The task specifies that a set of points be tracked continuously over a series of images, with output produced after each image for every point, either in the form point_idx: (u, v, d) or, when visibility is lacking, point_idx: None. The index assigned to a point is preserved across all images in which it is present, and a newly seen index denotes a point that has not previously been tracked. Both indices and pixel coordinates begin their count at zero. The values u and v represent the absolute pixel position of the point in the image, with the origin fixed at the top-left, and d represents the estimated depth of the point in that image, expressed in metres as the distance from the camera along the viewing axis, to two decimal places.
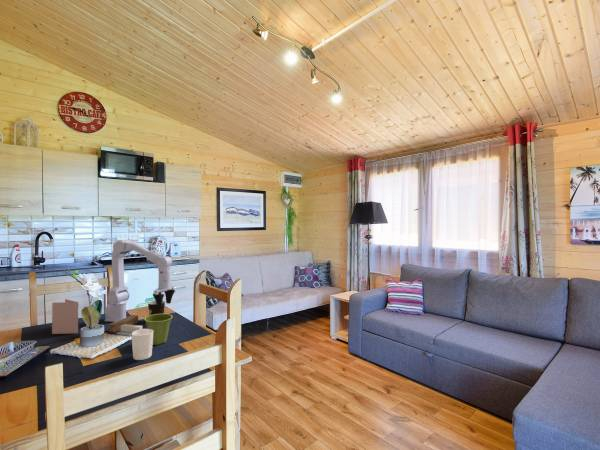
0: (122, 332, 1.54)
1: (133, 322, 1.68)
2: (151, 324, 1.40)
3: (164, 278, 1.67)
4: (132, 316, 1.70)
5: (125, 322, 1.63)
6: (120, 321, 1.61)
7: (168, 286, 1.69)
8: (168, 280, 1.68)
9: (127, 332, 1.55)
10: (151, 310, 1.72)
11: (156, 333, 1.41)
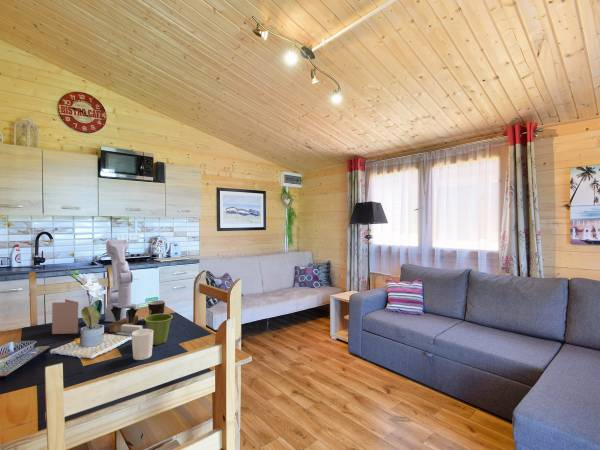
0: (122, 332, 1.54)
1: (133, 322, 1.68)
2: (150, 324, 1.40)
3: (120, 294, 1.61)
4: None
5: (125, 322, 1.63)
6: (120, 321, 1.61)
7: (119, 303, 1.61)
8: (119, 297, 1.61)
9: (127, 332, 1.55)
10: (151, 310, 1.72)
11: (156, 333, 1.41)
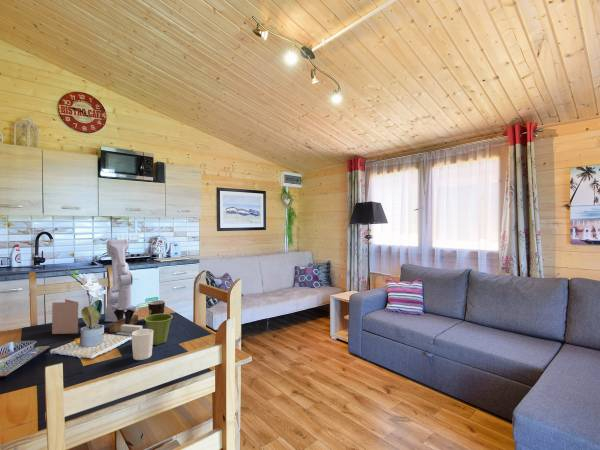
0: (122, 332, 1.54)
1: (133, 322, 1.68)
2: (150, 324, 1.40)
3: (120, 296, 1.61)
4: (132, 316, 1.70)
5: (125, 322, 1.63)
6: (120, 321, 1.61)
7: (119, 305, 1.61)
8: (119, 299, 1.61)
9: (127, 332, 1.55)
10: (151, 310, 1.72)
11: (156, 333, 1.41)
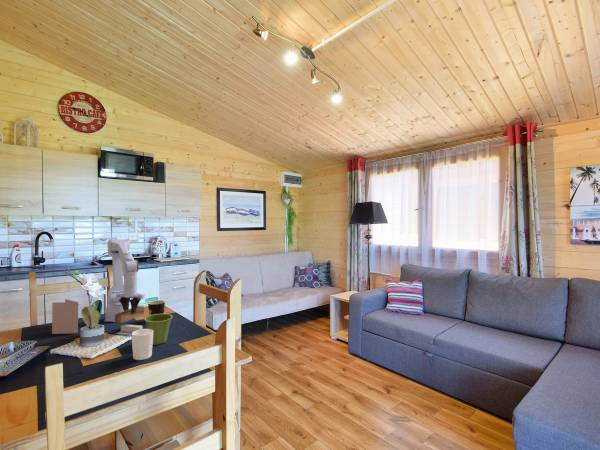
0: (122, 332, 1.54)
1: (139, 313, 1.62)
2: (150, 324, 1.40)
3: (125, 284, 1.55)
4: (138, 307, 1.64)
5: (131, 313, 1.57)
6: (126, 311, 1.56)
7: (125, 293, 1.56)
8: (125, 286, 1.56)
9: (127, 332, 1.55)
10: (151, 310, 1.72)
11: (156, 333, 1.41)
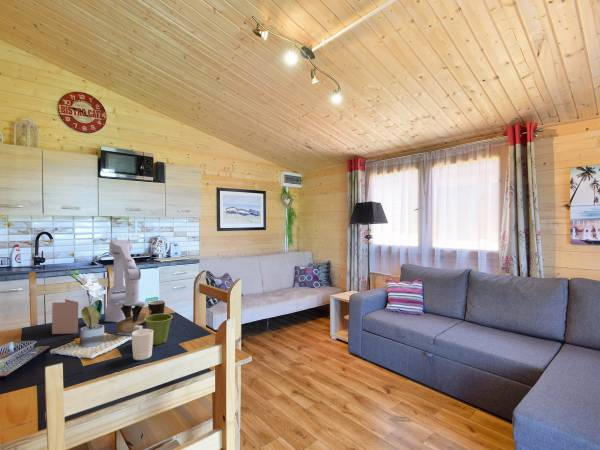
0: (122, 332, 1.54)
1: (141, 320, 1.61)
2: (150, 324, 1.40)
3: (127, 292, 1.54)
4: (140, 314, 1.62)
5: None
6: (128, 319, 1.54)
7: (127, 301, 1.54)
8: (127, 294, 1.54)
9: (127, 332, 1.55)
10: (151, 310, 1.72)
11: (156, 333, 1.41)
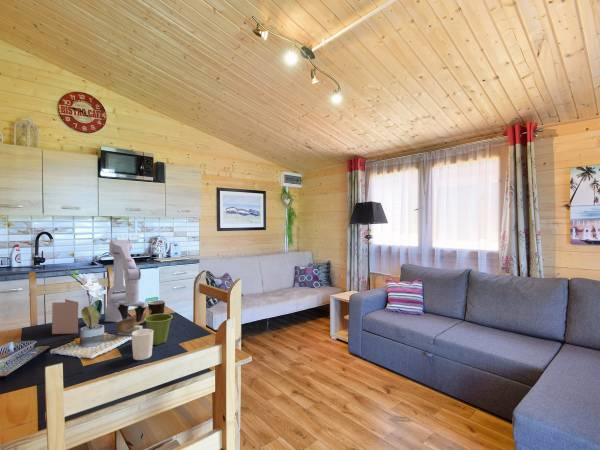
0: (122, 332, 1.54)
1: (141, 320, 1.61)
2: (150, 324, 1.40)
3: (127, 292, 1.54)
4: None
5: (133, 320, 1.55)
6: (128, 319, 1.54)
7: (127, 301, 1.54)
8: (127, 294, 1.54)
9: (127, 332, 1.55)
10: (151, 310, 1.72)
11: (156, 333, 1.41)
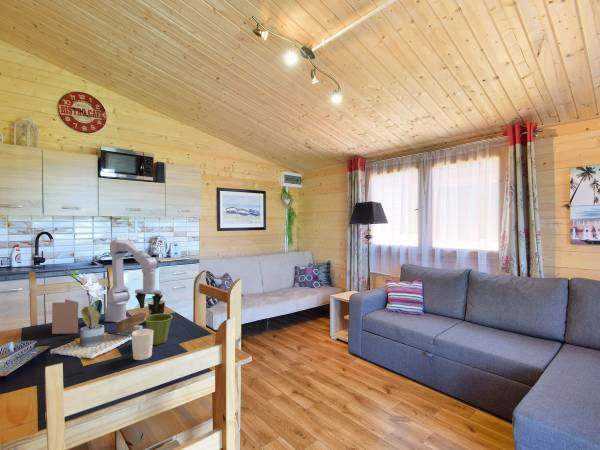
0: (122, 332, 1.54)
1: (141, 320, 1.61)
2: (150, 324, 1.40)
3: (147, 280, 1.58)
4: (140, 314, 1.62)
5: (133, 320, 1.55)
6: (128, 319, 1.54)
7: (144, 289, 1.59)
8: (144, 283, 1.59)
9: (127, 332, 1.55)
10: (151, 310, 1.72)
11: (156, 333, 1.41)
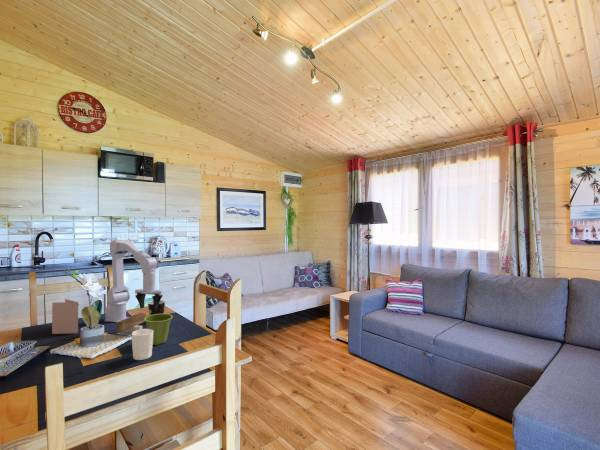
0: (122, 332, 1.54)
1: (141, 320, 1.61)
2: (150, 324, 1.40)
3: (147, 280, 1.58)
4: (140, 314, 1.62)
5: (133, 320, 1.55)
6: (128, 319, 1.54)
7: (144, 289, 1.59)
8: (144, 283, 1.59)
9: (127, 332, 1.55)
10: (151, 310, 1.72)
11: (156, 333, 1.41)
